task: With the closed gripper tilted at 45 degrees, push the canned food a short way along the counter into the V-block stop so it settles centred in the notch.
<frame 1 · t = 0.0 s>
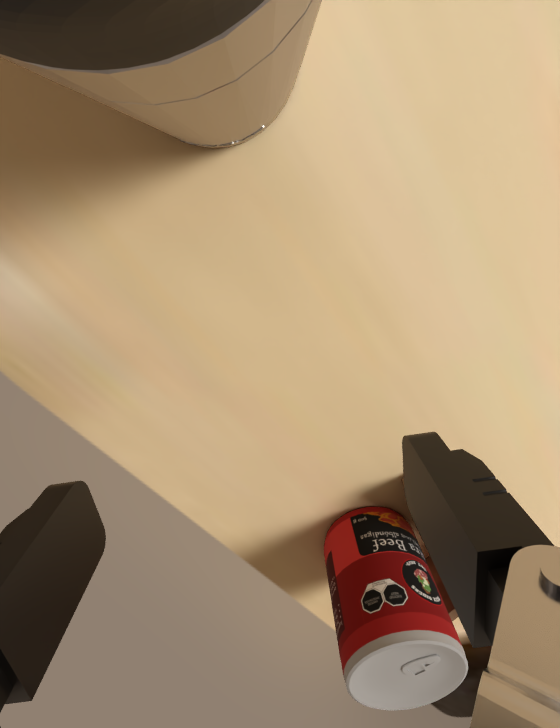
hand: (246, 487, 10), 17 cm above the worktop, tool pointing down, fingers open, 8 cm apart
v-block stop: (406, 531, 35), on the worktop
canned food: (365, 534, 35), on the worktop
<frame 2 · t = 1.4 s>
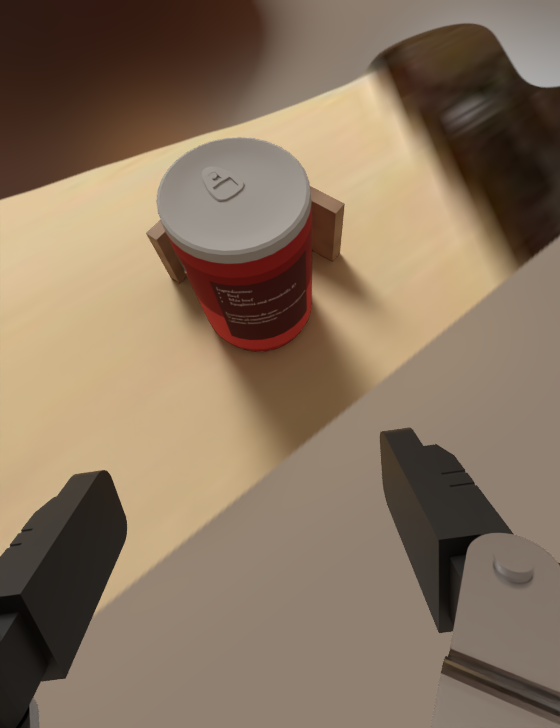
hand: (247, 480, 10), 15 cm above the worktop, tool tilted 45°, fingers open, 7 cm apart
v-block stop: (255, 268, 31), on the worktop
canned food: (259, 308, 30), on the worktop
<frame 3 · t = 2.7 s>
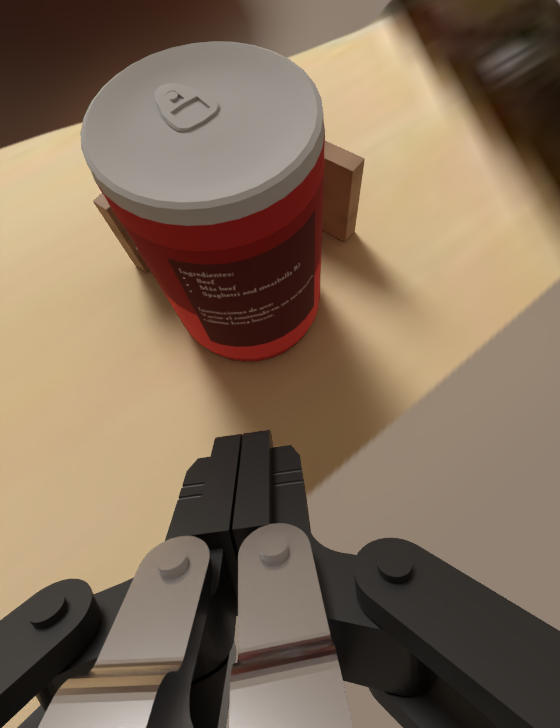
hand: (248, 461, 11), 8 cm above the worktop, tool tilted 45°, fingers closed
v-block stop: (244, 252, 24), on the worktop
canned food: (250, 304, 23), on the worktop
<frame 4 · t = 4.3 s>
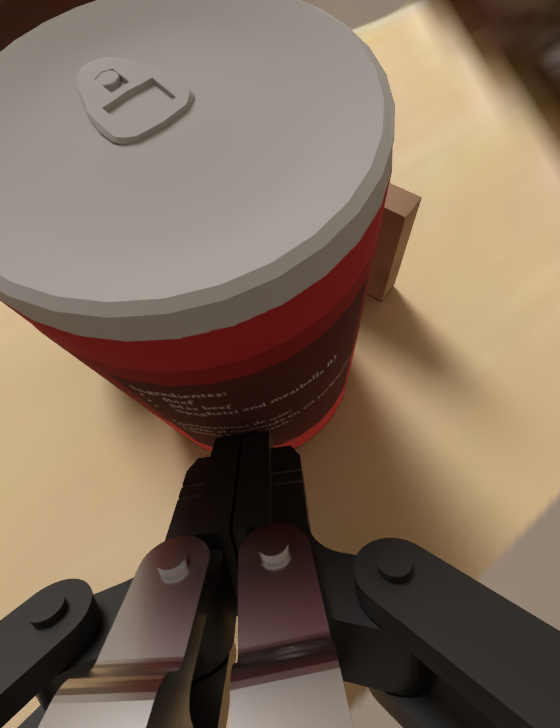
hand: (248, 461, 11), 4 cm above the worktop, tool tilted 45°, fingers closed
v-block stop: (244, 316, 18), on the worktop
canned food: (252, 369, 17), on the worktop, touching gripper
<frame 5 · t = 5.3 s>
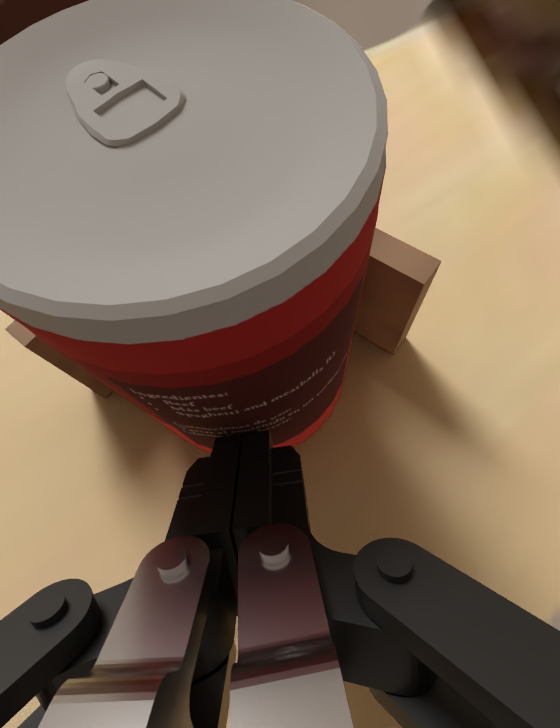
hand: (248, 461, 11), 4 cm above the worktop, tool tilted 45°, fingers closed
v-block stop: (247, 369, 16), on the worktop
canned food: (249, 369, 17), on the worktop, touching gripper, v-block stop
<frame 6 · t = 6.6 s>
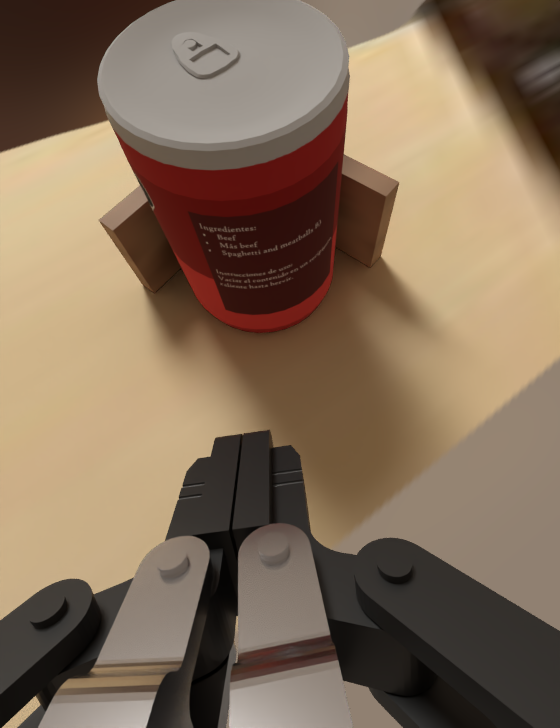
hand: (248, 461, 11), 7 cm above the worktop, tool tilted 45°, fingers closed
v-block stop: (260, 275, 22), on the worktop
canned food: (262, 277, 22), on the worktop, touching v-block stop
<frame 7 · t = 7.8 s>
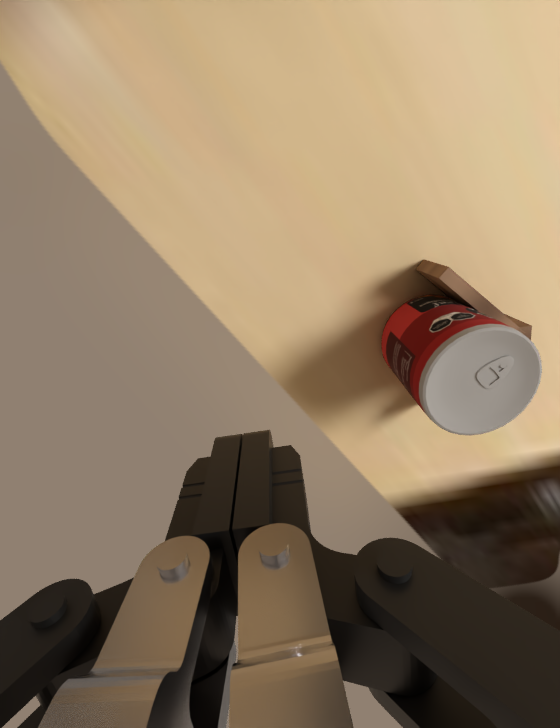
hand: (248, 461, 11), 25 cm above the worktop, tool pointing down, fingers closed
v-block stop: (421, 335, 36), on the worktop
canned food: (420, 334, 36), on the worktop
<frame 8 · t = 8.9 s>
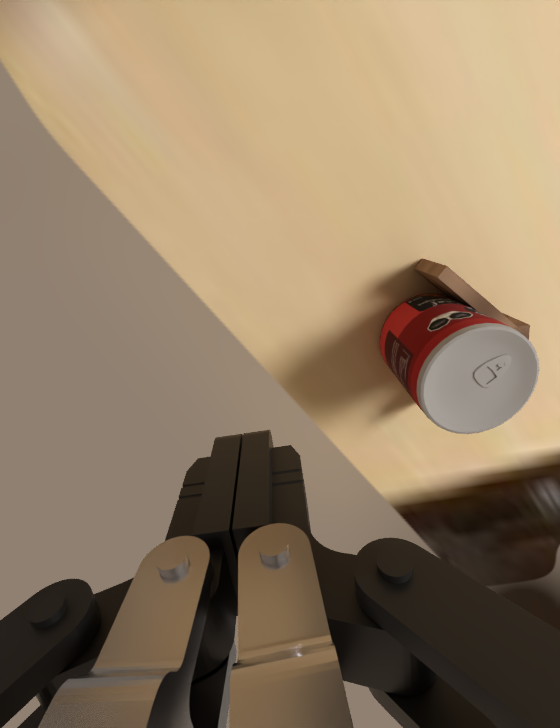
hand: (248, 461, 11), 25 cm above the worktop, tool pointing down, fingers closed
v-block stop: (419, 334, 36), on the worktop
canned food: (419, 333, 36), on the worktop
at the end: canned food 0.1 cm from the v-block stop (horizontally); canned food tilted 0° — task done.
